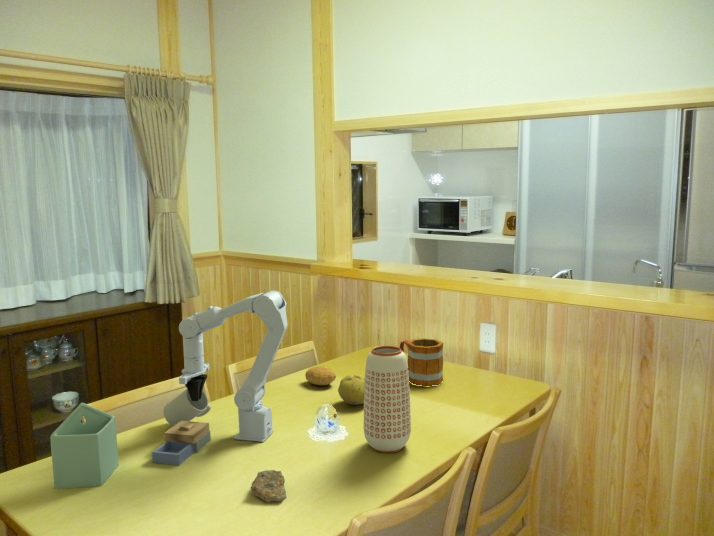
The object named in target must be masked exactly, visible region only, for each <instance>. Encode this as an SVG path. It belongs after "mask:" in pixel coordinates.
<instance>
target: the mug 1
mask: <svg viewBox="0 0 714 536" xmlns="http://www.w3.org/2000/svg"><path fill="white" fill-rule="evenodd" d="M211 409H212V406H211V404H209V399H208V397H207V394H206V393H205V391H202V396H201V399H200V400H199V401H191V398H190V395H189V392H188V389H187V388H186V389H185V390H184V391H182V392H181V393H180V394H178V395H177V396H176V397H175V398H173V399H172V400H170V401H169V402H168V403H166V404H165V405H164V408H163V417H164V419H165V421H166V423H168V424H169V425H170V426H172V427H173V426H174V425H176V424H177V423H179V422H180V421H192V420H193V419H195V418H199V417H203V416H205V415H207V414H208V413H209V412H211Z"/></svg>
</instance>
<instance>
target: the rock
mask: <svg viewBox="0 0 714 536" xmlns="http://www.w3.org/2000/svg"><path fill="white" fill-rule="evenodd" d="M285 482H286V481H285V477H284V475H283V472H282V470H278V471H277V470H276V469H271V470H266V469H265V470H263V471H259V472H257V475H256V477H255V478H254V480H253V481H252V482H251V486H250V491H251V492H252V493H253V495H254V496H256V497H258V498H260V499H262V500H263V501H265V502H266V503H270V502H274V501H275V502H281V501H283V500H284V499H286V498H287V494H286V489H285Z"/></svg>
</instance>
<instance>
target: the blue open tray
mask: <svg viewBox="0 0 714 536" xmlns="http://www.w3.org/2000/svg"><path fill="white" fill-rule="evenodd" d="M151 453H152V454H151V456H152V463H155V464H163V465H172V466H180V465H182V464H183V463H184V462H185V461H187V459H189V458H190V457H191V456H192V455H193V454H194V453H196V452H195V451H194V444H191V443H180V442H170V441H164V442H163V443H162V444H160V445H159V446H158V447H157V448H156V449H154V450H153V451H151Z"/></svg>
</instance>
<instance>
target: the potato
mask: <svg viewBox="0 0 714 536" xmlns="http://www.w3.org/2000/svg"><path fill="white" fill-rule="evenodd" d="M305 379H306V380H307V381H308V382H309V383H310V384H313V385H316V386H321V387H322V386H327V385H330V384H332V383H333V382H335V380H336V379H337V374H336V372H335V371H333V370H332V369H331V368H330V367H328V366H325V365H324V366H319V365H318V366H312V367H310V368H309V369H307V371H306V372H305Z"/></svg>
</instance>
